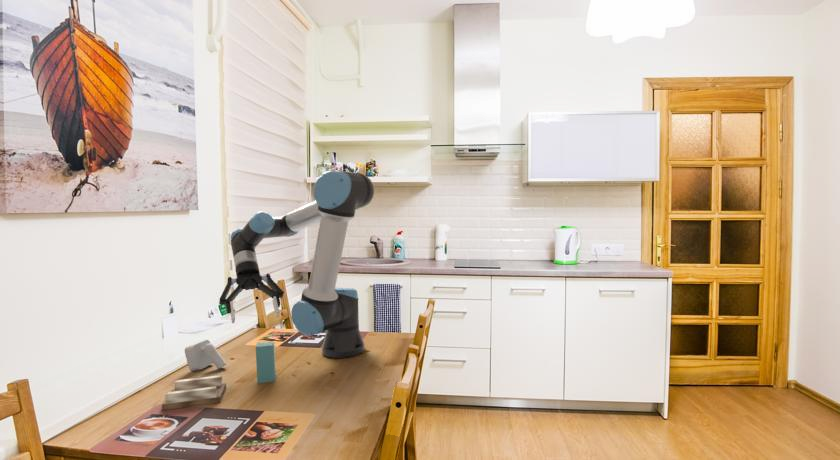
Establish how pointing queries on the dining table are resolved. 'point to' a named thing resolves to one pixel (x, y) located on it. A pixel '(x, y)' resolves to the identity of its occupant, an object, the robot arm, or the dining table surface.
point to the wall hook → (203, 356)
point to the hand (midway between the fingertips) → (256, 317)
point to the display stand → (195, 392)
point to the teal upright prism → (265, 362)
